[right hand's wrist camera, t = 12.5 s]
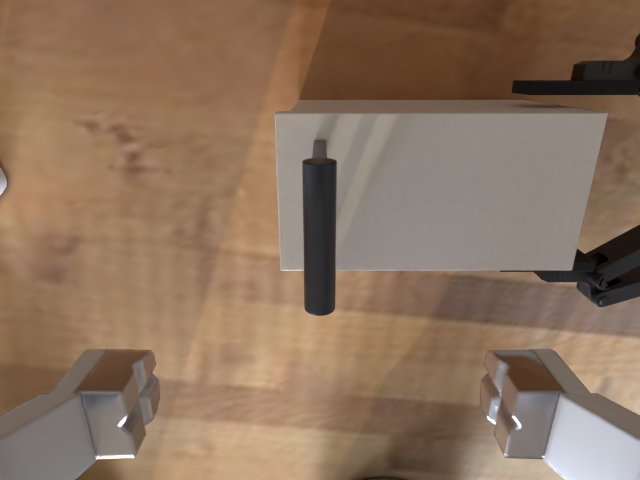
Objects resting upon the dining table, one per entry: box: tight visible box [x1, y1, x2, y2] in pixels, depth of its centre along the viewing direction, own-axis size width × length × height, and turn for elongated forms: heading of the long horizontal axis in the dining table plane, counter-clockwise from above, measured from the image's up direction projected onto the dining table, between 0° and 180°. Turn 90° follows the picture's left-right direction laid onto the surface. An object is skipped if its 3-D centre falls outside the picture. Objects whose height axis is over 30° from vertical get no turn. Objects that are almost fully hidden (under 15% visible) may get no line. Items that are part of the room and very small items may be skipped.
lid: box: [275, 111, 608, 316], centre depth 23 cm, size 18×10×9 cm, turn 90°
